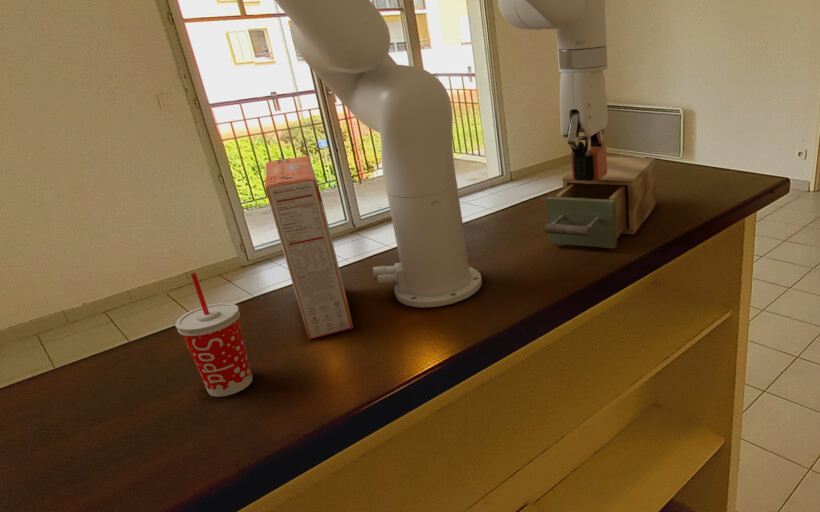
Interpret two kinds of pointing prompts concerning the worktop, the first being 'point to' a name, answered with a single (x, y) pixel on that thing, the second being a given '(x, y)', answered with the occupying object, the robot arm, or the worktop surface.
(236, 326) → the beverage cup
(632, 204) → the cabinet
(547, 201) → the drawer
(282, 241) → the cracker box
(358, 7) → the robot arm
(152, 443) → the worktop surface
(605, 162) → the block
